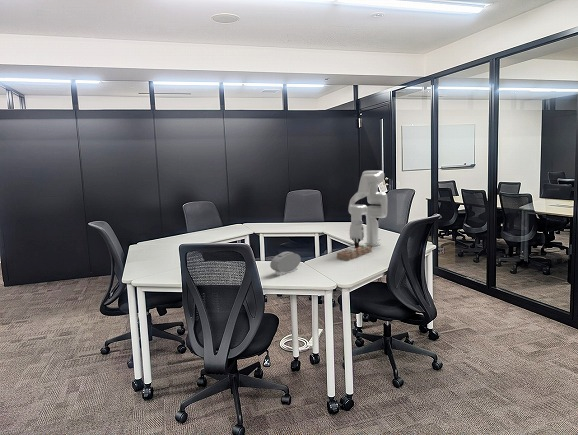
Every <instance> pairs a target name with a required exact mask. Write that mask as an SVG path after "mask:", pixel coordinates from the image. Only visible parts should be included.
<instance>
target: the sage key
mask: <svg viewBox="0 0 578 435" xmlns="http://www.w3.org/2000/svg"><path fill="white" fill-rule="evenodd" d="M359 247H362V248H365V247H367V245H366V244H365V243H364V244H363V243H359Z"/></svg>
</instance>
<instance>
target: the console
mask: <svg viewBox="0 0 578 435" xmlns="http://www.w3.org/2000/svg"><path fill="white" fill-rule="evenodd" d="M372 247H373V246H367V247H365V248H362V249H360V250H356V251H354V252H347V251H346V249H345V250H342V251H339V252H337V253H336V258H337V260H345V261H351V260H354V259H356V258H359V257H362V256H365V255H368V254H370V253H371V252H372Z"/></svg>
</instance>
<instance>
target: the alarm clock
mask: <svg viewBox="0 0 578 435" xmlns="http://www.w3.org/2000/svg"><path fill="white" fill-rule="evenodd" d="M301 261H302V259H301V256H300V255H299V254H298V253H294V252H293V251H282V252H281V253H278V254H277V255H275V256H274V257H273V258H272V259H271V260H270V263H269V264H270V265H269V266H270V268H271V270H273V271H274V275H276V276H283V275H286V274H288V273H292V272H295V271H297V270H298V266H299V265H300V263H301Z"/></svg>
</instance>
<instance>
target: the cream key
mask: <svg viewBox="0 0 578 435" xmlns="http://www.w3.org/2000/svg"><path fill="white" fill-rule="evenodd" d="M345 250H346V251H347V252H354V251H356V248H353V247H348V248H346V249H345Z"/></svg>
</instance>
